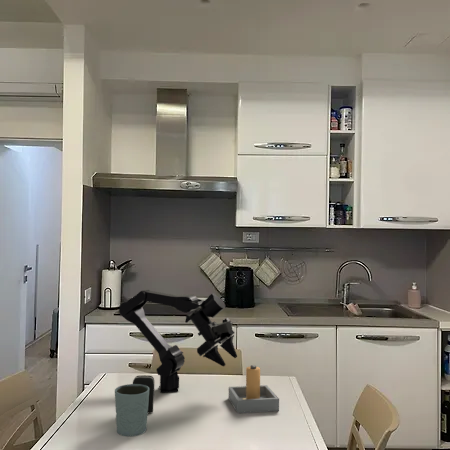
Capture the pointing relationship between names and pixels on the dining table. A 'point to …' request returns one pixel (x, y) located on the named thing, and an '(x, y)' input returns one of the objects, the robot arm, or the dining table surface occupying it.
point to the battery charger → (150, 383)
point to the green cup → (131, 409)
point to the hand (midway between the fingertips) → (230, 361)
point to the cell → (252, 382)
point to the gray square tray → (253, 400)
